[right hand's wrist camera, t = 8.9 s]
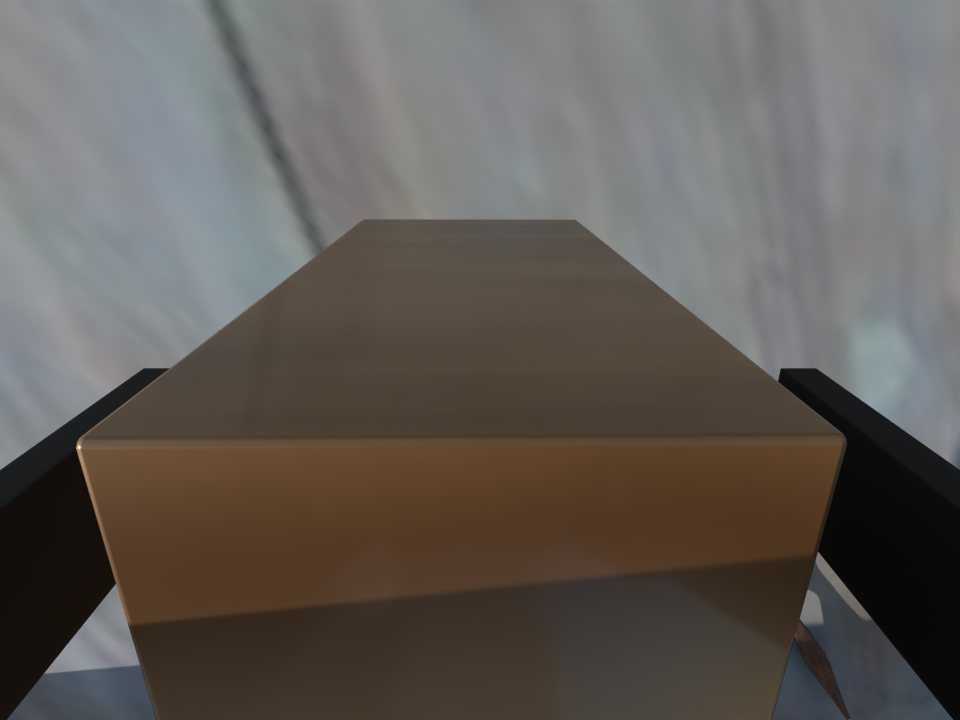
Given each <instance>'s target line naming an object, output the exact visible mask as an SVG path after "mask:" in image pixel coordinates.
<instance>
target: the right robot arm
mask: <svg viewBox="0 0 960 720" xmlns="http://www.w3.org/2000/svg"><path fill="white" fill-rule="evenodd" d="M169 369H170V368H144V369H142V370H141V371H140V372H138V373H137V374H135V375H134V376H133V377H131V378H130V379H128V380H127V381H126V382H124V383H123V384H121V385H120V386H118V387H117V388H116V389H114V390H113V391H111V392H110V393H109V394H107V395H106V396H104V397H103V398H101V399H100V400H99V401H97V402H96V403H94V404H93V405H92V406H90V407H89V408H87V409H86V410H85V411H83V412H82V413H80V414H79V415H77V416H76V417H75V418H73V419H72V420H70V421H69V422H68V423H66V424H65V425H63V426H62V427H60V428H59V429H58V430H56V431H55V432H53V433H52V434H51V435H49V436H48V437H46V438H45V439H44V440H42V441H41V442H39V443H38V444H36V445H35V446H34V447H32V448H31V449H29V450H28V451H27V452H25V453H24V454H22V455H21V456H20V457H18V458H17V459H15V460H14V461H12V462H11V463H10V464H8V465H7V466H5V467H4V468H3V469H1V470H0V720H7V719H8V717H9V716H10V715H11V714H12V712H13V711H14V710H15V709H16V707H17V706H18V705H19V704H20V702H21V701H22V700H23V699H24V697H25V696H26V695H27V694H28V692H29V691H30V690H31V689H32V687H33V686H34V685H35V684H36V683H37V681H38V680H39V679H40V678H41V676H42V675H43V674H44V673H45V671H46V670H47V669H48V668H49V666H50V665H51V664H52V663H53V661H54V660H55V659H56V658H57V656H58V655H59V654H60V653H61V651H62V650H63V649H64V648H65V646H66V645H67V644H68V643H69V641H70V640H71V639H72V638H73V636H74V635H75V634H76V633H77V631H78V630H79V629H80V628H81V627H82V625H83V624H84V623H85V622H86V620H87V619H88V618H89V617H90V615H91V614H92V613H93V612H94V610H95V609H96V608H97V607H98V605H99V604H100V603H101V602H102V600H103V599H104V598H105V597H106V595H107V594H108V593H109V592H110V590H111V589H112V588H113V587H114V585H115V584H116V581H115V578H114V575H113V571H112V568H111V564H110V561H109V558H108V554H107V551H106V548H105V544H104V541H103V537H102V534H101V531H100V527H99V524H98V520H97V517H96V514H95V510H94V507H93V504H92V500H91V497H90V493H89V490H88V487H87V483H86V480H85V476H84V473H83V470H82V466H81V463H80V460H79V456H78V453H77V449H76V447H77V442H78V440H79V438H80V437H82V436H83V435H84V434H85V433H87V432H88V431H89V430H91V429H92V428H93V427H95V426H96V425H97V424H98V423H100V422H101V421H102V420H104V419H105V418H106V417H108V416H109V415H110V414H111V413H113V412H114V411H115V410H117V409H118V408H119V407H121V406H122V405H123V404H124V403H126V402H127V401H128V400H130V399H131V398H132V397H134V396H135V395H136V394H137V393H139V392H140V391H141V390H143V389H144V388H145V387H147V386H148V385H149V384H150V383H152V382H153V381H154V380H156V379H157V378H158V377H160V376H161V375H162V374H163V373H165V372H166V371H167V370H169ZM778 382H779V383H780V384H781V385H783V386H784V387H785V388H786V389H788V390H789V391H790V392H791V393H793V394H794V395H795V396H796V397H798V398H799V399H800V400H801V401H803V402H804V403H805V404H806V405H808V406H809V407H810V408H811V409H813V410H814V411H815V412H816V413H818V414H819V415H820V416H821V417H823V418H824V419H825V420H826V421H828V422H829V423H830V424H831V425H833V426H834V427H835V428H836V429H838V430H839V431H840V432H841V433H843V434H844V436H845V438H846V442H847V447H846V450H845V454H844V458H843V461H842V465H841V469H840V472H839V476H838V480H837V483H836V487H835V491H834V494H833V498H832V502H831V505H830V509H829V512H828V516H827V520H826V523H825V527H824V531H823V534H822V538H821V542H820V545H819V549H818V552H819V553H820V554H821V556H822V557H823V558H824V559H825V561H826V562H827V563H828V564H829V566H830V567H831V568H832V569H833V571H834V572H835V573H836V574H837V576H838V577H839V578H840V579H841V580H842V582H843V583H844V584H845V585H846V587H847V588H848V589H849V590H850V592H851V593H852V594H853V595H854V597H855V598H856V599H857V600H858V602H859V603H860V604H861V605H862V607H863V608H864V609H865V610H866V612H867V613H868V614H869V615H870V617H871V618H872V619H873V620H874V622H875V623H876V624H877V625H878V627H879V628H880V629H881V630H882V631H883V633H884V634H885V635H886V636H887V638H888V639H889V640H890V641H891V643H892V644H893V645H894V646H895V648H896V649H897V650H898V651H899V653H900V654H901V655H902V656H903V658H904V659H905V660H906V661H907V663H908V664H909V665H910V666H911V668H912V669H913V670H914V671H915V673H916V674H917V675H918V676H919V678H920V679H921V680H922V681H923V683H924V684H925V685H926V686H927V687H928V689H929V690H930V691H931V692H932V694H933V695H934V696H935V697H936V699H937V700H938V701H939V702H940V704H941V705H942V706H943V707H944V709H945V710H946V711H947V712H948V714H949V715H950V716H951V717H952V719H953V720H960V470H959V469H957V468H956V467H955V466H953V465H952V464H950V463H949V462H948V461H946V460H945V459H943V458H942V457H940V456H939V455H938V454H936V453H935V452H933V451H932V450H931V449H929V448H928V447H926V446H925V445H924V444H922V443H921V442H919V441H918V440H916V439H915V438H914V437H912V436H911V435H909V434H908V433H907V432H905V431H904V430H902V429H901V428H900V427H898V426H897V425H895V424H894V423H892V422H891V421H890V420H888V419H887V418H885V417H884V416H883V415H881V414H880V413H878V412H877V411H875V410H874V409H873V408H871V407H870V406H868V405H867V404H866V403H864V402H863V401H861V400H860V399H859V398H857V397H856V396H854V395H853V394H851V393H850V392H849V391H847V390H846V389H844V388H843V387H842V386H840V385H839V384H837V383H836V382H834V381H833V380H832V379H830V378H829V377H827V376H826V375H825V374H823V373H822V372H820V371H819V370H818V369H816V368H781V370H780V375H779V380H778Z"/></svg>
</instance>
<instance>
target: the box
mask: <svg viewBox="0 0 960 720" xmlns="http://www.w3.org/2000/svg"><path fill="white" fill-rule="evenodd" d="M846 447H847V442H846V438H845V436H844V434H843V433H841V432H840V431H839V430H838V429H836V428H835V427H834V426H833V425H831V424H830V423H829V422H828V421H826V420H825V419H824V418H823V417H821V416H820V415H819V414H818V413H816V412H815V411H814V410H813V409H811V408H810V407H809V406H808V405H806V404H805V403H804V402H803V401H801V400H800V399H799V398H798V397H796V396H795V395H794V394H793V393H791V392H790V391H789V390H788V389H786V388H785V387H784V386H783V385H781V384H780V383H779V382H778V381H776V380H775V379H774V378H773V377H771V376H770V375H769V374H768V373H766V372H765V371H764V370H763V369H761V368H760V367H759V366H758V365H756V364H755V363H754V362H753V361H751V360H750V359H749V358H748V357H746V356H745V355H744V354H743V353H741V352H740V351H739V350H738V349H736V348H735V347H734V346H733V345H731V344H730V343H729V342H728V341H726V340H725V339H724V338H723V337H721V336H720V335H719V334H718V333H716V332H715V331H714V330H713V329H711V328H710V327H709V326H708V325H706V324H705V323H704V322H703V321H701V320H700V319H699V318H698V317H696V316H695V315H694V314H693V313H691V312H690V311H689V310H688V309H686V308H685V307H684V306H683V305H681V304H680V303H679V302H678V301H676V300H675V299H674V298H673V297H671V296H670V295H669V294H668V293H666V292H665V291H664V290H663V289H661V288H660V287H659V286H658V285H656V284H655V283H654V282H653V281H651V280H650V279H649V278H648V277H646V276H645V275H644V274H643V273H641V272H640V271H639V270H638V269H636V268H635V267H634V266H633V265H631V264H630V263H629V262H628V261H626V260H625V259H624V258H623V257H621V256H620V255H619V254H618V253H616V252H615V251H614V250H613V249H611V248H610V247H609V246H608V245H606V244H605V243H604V242H603V241H601V240H600V239H599V238H598V237H596V236H595V235H594V234H593V233H591V232H590V231H589V230H588V229H586V228H585V227H584V226H583V225H581V224H580V223H579V222H578V221H576V220H362V221H361V222H360V223H358V224H357V225H356V226H355V227H353V228H352V229H351V230H349V231H348V232H347V233H345V234H344V235H343V236H342V237H340V238H339V239H338V240H336V241H335V242H334V243H332V244H331V245H330V246H329V247H327V248H326V249H325V250H323V251H322V252H321V253H319V254H318V255H317V256H316V257H314V258H313V259H312V260H310V261H309V262H308V263H306V264H305V265H304V266H303V267H301V268H300V269H299V270H297V271H296V272H295V273H293V274H292V275H291V276H290V277H288V278H287V279H286V280H284V281H283V282H282V283H280V284H279V285H278V286H277V287H275V288H274V289H273V290H271V291H270V292H269V293H267V294H266V295H265V296H264V297H262V298H261V299H260V300H258V301H257V302H256V303H254V304H253V305H252V306H251V307H249V308H248V309H247V310H245V311H244V312H243V313H241V314H240V315H239V316H238V317H236V318H235V319H234V320H232V321H231V322H230V323H228V324H227V325H226V326H225V327H223V328H222V329H221V330H219V331H218V332H217V333H215V334H214V335H213V336H212V337H210V338H209V339H208V340H206V341H205V342H204V343H202V344H201V345H200V346H199V347H197V348H196V349H195V350H193V351H192V352H191V353H189V354H188V355H187V356H186V357H184V358H183V359H182V360H180V361H179V362H178V363H176V364H175V365H174V366H173V367H171V368H170V369H169V370H167V371H166V372H165V373H163V374H162V375H161V376H160V377H158V378H157V379H156V380H154V381H153V382H152V383H150V384H149V385H148V386H147V387H145V388H144V389H143V390H141V391H140V392H139V393H137V394H136V395H135V396H134V397H132V398H131V399H130V400H128V401H127V402H126V403H124V404H123V405H122V406H121V407H119V408H118V409H117V410H115V411H114V412H113V413H111V414H110V415H109V416H108V417H106V418H105V419H104V420H102V421H101V422H100V423H98V424H97V425H96V426H95V427H93V428H92V429H91V430H89V431H88V432H87V433H85V434H84V435H83V436H82V437H80V438H79V440H78V442H77V447H76V449H77V453H78V456H79V460H80V463H81V466H82V470H83V473H84V476H85V480H86V483H87V487H88V490H89V493H90V497H91V500H92V504H93V507H94V510H95V514H96V517H97V520H98V524H99V527H100V531H101V534H102V537H103V541H104V544H105V548H106V551H107V554H108V558H109V561H110V564H111V568H112V571H113V575H114V578H115V581H116V585H117V588H118V592H119V595H120V598H121V602H122V605H123V608H124V612H125V615H126V619H127V622H128V625H129V629H130V632H131V636H132V639H133V642H134V646H135V649H136V652H137V656H138V659H139V663H140V666H141V669H142V673H143V676H144V680H145V683H146V686H147V690H148V693H149V696H150V700H151V703H152V707H153V710H154V713H155V717H156V720H772V717H773V713H774V710H775V706H776V703H777V699H778V695H779V692H780V688H781V684H782V681H783V677H784V673H785V670H786V666H787V662H788V659H789V655H790V651H791V648H792V644H793V640H794V637H795V633H796V629H797V626H798V622H799V618H800V615H801V611H802V608H803V604H804V600H805V597H806V593H807V589H808V586H809V582H810V578H811V575H812V571H813V567H814V564H815V560H816V556H817V553H818V549H819V545H820V542H821V538H822V534H823V531H824V527H825V523H826V520H827V516H828V512H829V509H830V505H831V502H832V498H833V494H834V491H835V487H836V483H837V480H838V476H839V472H840V469H841V465H842V461H843V458H844V454H845V450H846Z"/></svg>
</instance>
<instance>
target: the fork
mask: <svg viewBox="0 0 960 720" xmlns="http://www.w3.org/2000/svg"><path fill="white" fill-rule="evenodd" d="M795 639H796V642H797V645H798V647H799V650H800V652H801V655H802V657H803V659H804V661H805V663H806V664H807V666H808V667H809V669H810V670H811V672H812V673H813V674H814V676H815V677H816V678H817V680H818V681H819V682H820V683H821V685H822V686H823V687H824V689H825V690H826V691H827V692H828V694H829V695H830V697H831V698H832V699H833V701H834V702H835V703H836V705H837V706H838V708H839V709H840V711H841V712H842V713H843V715H844V716H845V718H846V719H847V720H848V719H850V717H849V714H848V711H847V709H846V706H845V704H844V701H843V699H842V696H841V694H840V691H839V688H838V685H837V683H836V680H835V677H834V674H833V671H832V669H831V666H830V663H829V661H828V659H827V657H826V655H825V654H824V652H823V650H822V649H821V647H820V646H819V644H818V643H817V642H816V640H815V639H814V638H813V636H812V635H811V634H810V632H809V631H808V630H807V628H806V627H805V626H804V624H803V623H802V622H801V620H800V619H799V622H798V626H797V629H796V633H795Z"/></svg>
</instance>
